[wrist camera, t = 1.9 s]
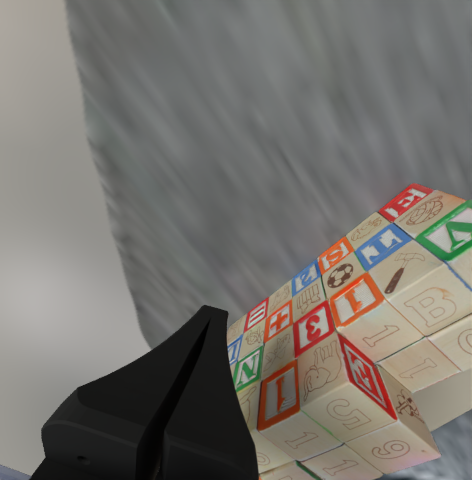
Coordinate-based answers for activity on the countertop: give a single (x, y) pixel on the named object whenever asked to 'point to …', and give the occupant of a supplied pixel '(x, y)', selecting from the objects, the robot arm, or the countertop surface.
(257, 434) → the stack of blocks
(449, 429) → the countertop surface
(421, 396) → the mat
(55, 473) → the robot arm
